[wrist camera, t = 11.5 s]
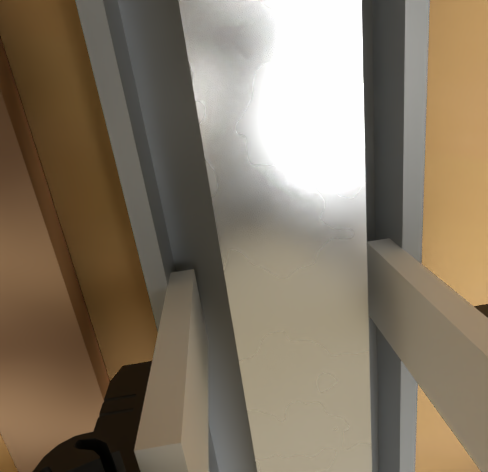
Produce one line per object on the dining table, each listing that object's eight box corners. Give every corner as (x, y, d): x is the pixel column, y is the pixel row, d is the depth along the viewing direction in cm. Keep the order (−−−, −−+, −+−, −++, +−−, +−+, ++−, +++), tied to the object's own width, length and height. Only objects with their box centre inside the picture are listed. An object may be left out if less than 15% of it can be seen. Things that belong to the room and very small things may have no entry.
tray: (43, -239, 9) (-12, -349, 7) (384, -277, 10) (441, -395, 7) (223, 542, 19) (225, 605, 17) (387, 512, 20) (411, 570, 17)
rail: (158, -148, 10) (132, -275, 6) (303, -165, 10) (354, -299, 6) (267, 516, 18) (280, 612, 15) (343, 502, 18) (374, 595, 15)
